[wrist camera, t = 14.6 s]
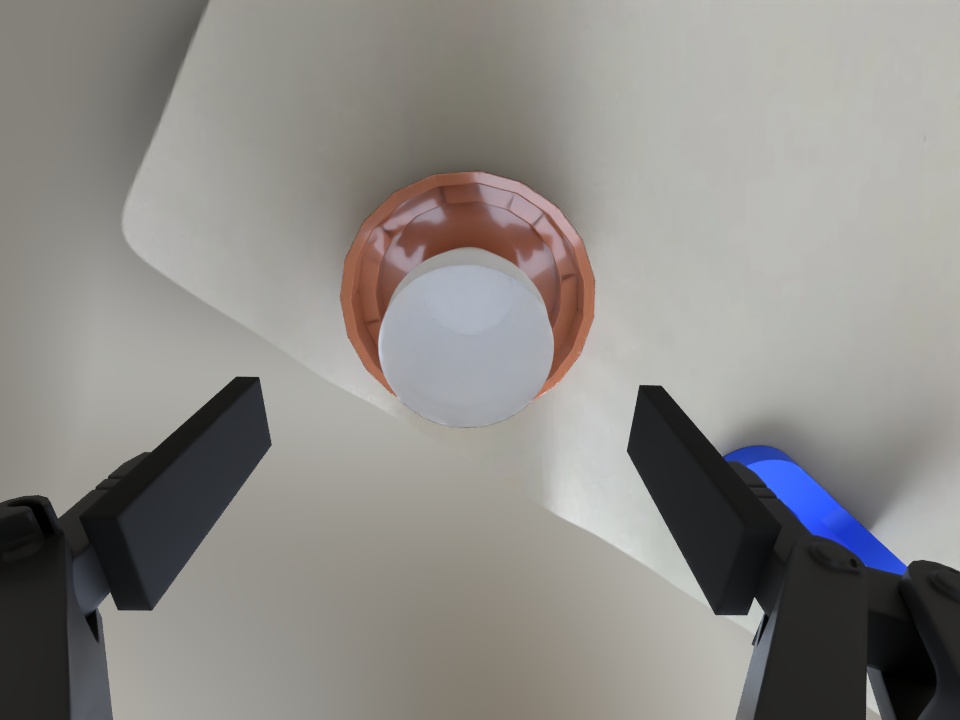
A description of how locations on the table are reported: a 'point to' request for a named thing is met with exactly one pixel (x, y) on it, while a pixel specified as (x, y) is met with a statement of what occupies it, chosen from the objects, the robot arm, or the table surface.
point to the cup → (466, 339)
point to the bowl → (469, 223)
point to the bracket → (815, 506)
